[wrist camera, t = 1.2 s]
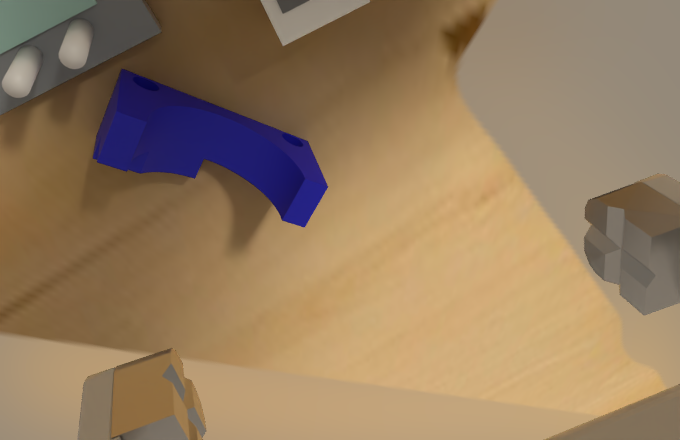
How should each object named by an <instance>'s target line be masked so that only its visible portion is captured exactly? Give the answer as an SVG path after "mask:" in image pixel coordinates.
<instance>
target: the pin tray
mask: <svg viewBox="0 0 680 440" xmlns="http://www.w3.org/2000/svg"><path fill="white" fill-rule="evenodd" d="M159 33H161V25H160V23H159V22H158V20H157V19H156V17H155V15H154V14H153V12H152V11H151V9H150V7H149V6H148V4H147V2H146V1H145V0H0V115H2V114H4V113H6V112H8V111H10V110H12V109H14V108H15V107H17V106H19V105H21V104H23V103H25V102H27V101H29V100H31V99H33V98H35V97H37V96H39V95H41V94H43V93H45V92H46V91H48V90H50V89H52V88H54V87H56V86H58V85H60V84H62V83H64V82H66V81H68V80H70V79H72V78H74V77H76V76H77V75H79V74H81V73H83V72H85V71H87V70H89V69H91V68H93V67H95V66H97V65H99V64H101V63H103V62H105V61H106V60H108V59H110V58H112V57H114V56H116V55H118V54H120V53H122V52H124V51H126V50H128V49H130V48H132V47H134V46H136V45H137V44H139V43H141V42H143V41H145V40H147V39H149V38H151V37H153V36H155V35H157V34H159Z"/></svg>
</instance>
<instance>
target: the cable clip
mask: <svg viewBox="0 0 680 440" xmlns="http://www.w3.org/2000/svg"><path fill="white" fill-rule="evenodd" d="M93 159H96V160H97V162H98V163H101V164H104V165H108V166H111V167H114V168H117V169H120V170H123V171H127V170H131V171H134V172H137V173H146V172H167V173H174V174H179V175H184V176H187V177H191V178H194V179H195V177H196V175H197V173H198V171H199V168H200V166H201V164H202V162H203V160H204V159H206V160H209V161H212V162H214V163H216V164H219V165H221V166H223V167H225V168H227V169H229V170H231V171H233V172H235V173H236V174H238V175H240V176H241V177H243V178H244V179H246V180H247V181H249V182H250V183H251V184H253V185H254V186H255V187H257V188H258V189H259V190H260V191H261V192H262V193H263V194H264V195H266V196H267V198H268V199H269V200H270V201H271V202H272V203H273V205H274V206H275V207H276V209H277V210H278V212H279V214H280V216H281V219H282V221H286V222H289V223H292V224H295V225H298V226H301V227H305V226H306V224H307V222H308V221H309V219H310V217H311V215H312V214H313V212H314V210H315V209H316V207H317V205H318V203H319V202H320V200H321V198H322V196H323V195H324V193H325V191H326V190H327V188H328V186H327V183H326V181H325V179H324V177H323V174H322V172H321V170H320V168H319V165H318V163H317V161H316V159H315V156H314V154H313V152H312V150H311V148H310V145H309V143H308V141H306V140H303V139H301V138H298V137H296V136H293V135H291V134H288V133H285V132H283V131H280V130H278V129H275V128H273V127H270V126H268V125H265V124H262V123H260V122H257V121H255V120H252V119H250V118H247V117H244V116H242V115H239V114H237V113H234V112H232V111H229V110H227V109H224V108H221V107H219V106H216V105H214V104H211V103H209V102H206V101H204V100H201V99H198V98H196V97H193V96H191V95H188V94H186V93H183V92H181V91H178V90H175V89H173V88H170V87H168V86H165V85H163V84H160V83H158V82H155V81H152V80H150V79H147V78H145V77H142V76H140V75H137V74H134V73H132V72H129V71H127V70H124V69H121V72H120V74H119V77H118V80H117V82H116V85H115V88H114V91H113V93H112V96H111V99H110V101H109V104H108V107H107V109H106V112H105V115H104V117H103V120H102V123H101V125H100V128H99V131H98V133H97V137H96V142H95V148H94V154H93Z"/></svg>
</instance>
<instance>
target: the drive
mask: <svg viewBox="0 0 680 440" xmlns="http://www.w3.org/2000/svg"><path fill="white" fill-rule="evenodd" d="M260 1H261V3H262V5H263V7H264V9H265V11H266V13H267V15H268V17H269V19H270V21H271V23H272V25H273V27H274V29H275V31H276V33H277V35H278V37H279V39H280V41H281V43H282V45H283V46H285V45H287V44H289V43H291V42H292V41H294V40H296V39H298V38H300V37H302V36H304V35H306V34H308V33H310V32H312V31H314V30H316V29H318V28H320V27H322V26H324V25H326V24H328V23H330V22H332V21H334V20H336V19H338V18H340V17H342V16H344V15H346V14H348V13H350V12H352V11H353V10H355V9H357V8H359V7H361V6H363V5H365V4H367V3H369V2H370V0H260Z"/></svg>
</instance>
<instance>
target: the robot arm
mask: <svg viewBox="0 0 680 440" xmlns="http://www.w3.org/2000/svg"><path fill="white" fill-rule="evenodd" d="M585 219H586V220H587V221H588V222H589V223H590V224H591V227H590V228H589V230H588V232H587V233H586V235H585V237H584V249H585V250H584V251H585V254H586V256H587V259H588V261H589V264H590V266H591V267H592V268H593V270H594V271H595V273H596V274H597V275H598V276H600V277H601V278H602V279H603V280H604V281H607V282H611V283H614V284H618V285H619V292H620V295H621V296H622V297H623V298H624V299H626V300H627V301H628V302H629V303H630V304H631V305H632V306H634V307H635V308H636V309H637V310H638V311H639V312H641V313H642V314H643V315H647V314H650V313H652V312H655V311H658V310H661V309H664V308H666V307H669V306H672V305H674V304H678V303H680V182H678V181H677V180H675V179H673V178H671V177H669V176H668V175H665V174H656V175H653V176H650V177H648V178H645V179H643V180H640V181H637V182H635V183H634V184H631V185H628V186H625V187H623V188H620V189H617V190H614V191H612V192H609V193H606V194H603V195H601V196H598V197H595V198H592V199H590V200H588V202H587V204H586V207H585ZM205 432H206V425H205V418H204V414H203V410H202V406H201V402H200V399H199V397H198V394H197V391H196V389H195V387H194V385H193V383H192V381H191V380H189V379H187V378H185V377H184V372H183V363H182V361H181V359H180V357H179V356H178V354H177V352H176V350H174V349H173V348H170V349H167V350H164V351H161V352H158V353H155V354H152V355H149V356H146V357H143V358H140V359H137V360H134V361H131V362H129V363H125V364H122V365H119V366H117V367H116V368H112V369H109V370H106V371H103V372H100V373H97V374H94V375H91V376H88V377H87V379H86V380H85V382H84V385H83V395H82V404H81V413H80V422H79V431H78V440H203V439H202V437H203V436H204V434H205ZM545 440H680V384H679V385H676V386H674V387H671V388H669V389H666V390H664V391H661V392H659V393H657V394H654V395H652V396H649V397H647V398H644V399H642V400H640V401H637V402H635V403H632V404H630V405H627V406H625V407H622V408H620V409H618V410H615V411H613V412H610V413H608V414H605V415H603V416H601V417H598V418H596V419H594V420H591V421H589V422H586V423H583V424H581V425H579V426H576V427H574V428H571V429H569V430H566V431H564V432H562V433H559V434H557V435H554V436H552V437H549V438H547V439H545Z"/></svg>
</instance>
